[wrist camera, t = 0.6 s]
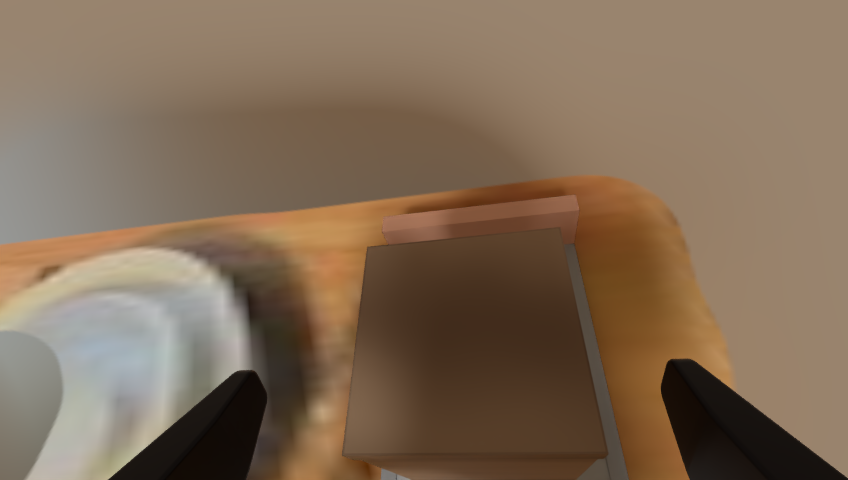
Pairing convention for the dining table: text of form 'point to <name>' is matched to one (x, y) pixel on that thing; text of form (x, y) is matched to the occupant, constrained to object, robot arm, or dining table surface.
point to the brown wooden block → (472, 362)
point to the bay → (609, 473)
